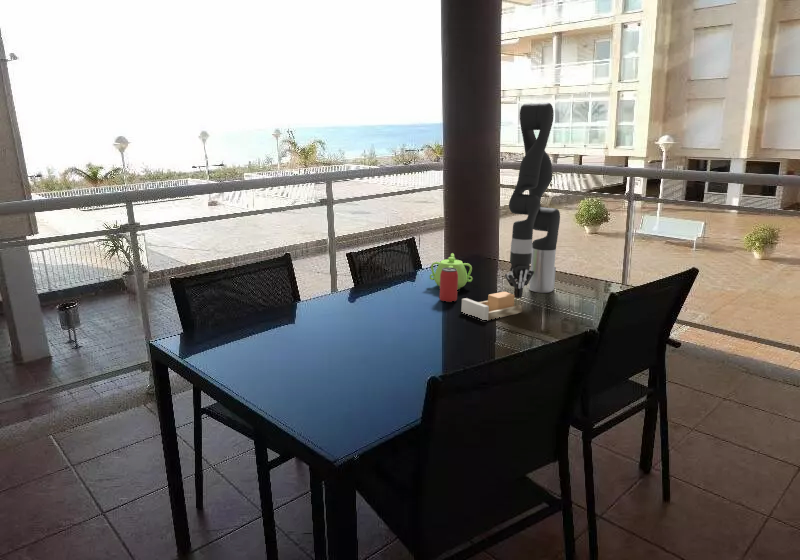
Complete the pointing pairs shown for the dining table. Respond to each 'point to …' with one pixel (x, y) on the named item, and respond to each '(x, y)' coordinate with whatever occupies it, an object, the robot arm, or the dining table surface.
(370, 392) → the dining table surface
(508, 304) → the block
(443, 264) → the green sugar bowl
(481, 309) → the stop block
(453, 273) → the beer can
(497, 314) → the guide lane
